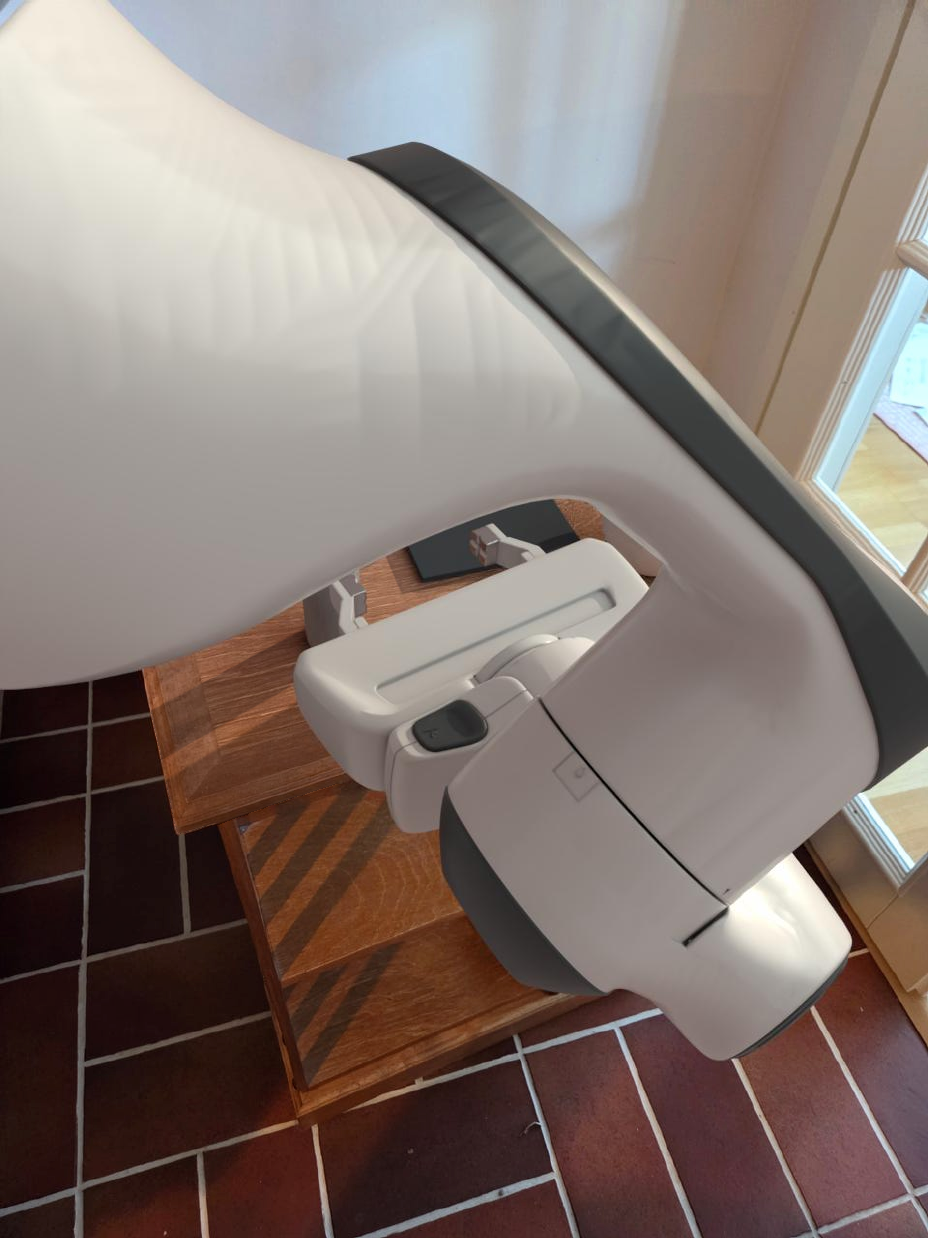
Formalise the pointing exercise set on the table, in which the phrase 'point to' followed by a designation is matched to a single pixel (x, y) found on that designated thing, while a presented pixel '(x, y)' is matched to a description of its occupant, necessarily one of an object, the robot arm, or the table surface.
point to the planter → (322, 616)
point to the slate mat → (520, 522)
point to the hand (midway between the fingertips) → (412, 560)
